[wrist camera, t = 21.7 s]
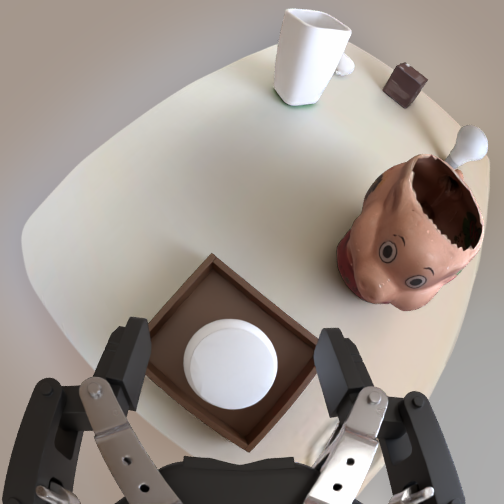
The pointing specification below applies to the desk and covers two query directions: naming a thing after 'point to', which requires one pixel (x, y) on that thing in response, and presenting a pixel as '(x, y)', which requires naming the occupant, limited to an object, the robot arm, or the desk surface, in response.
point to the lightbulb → (468, 146)
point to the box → (404, 84)
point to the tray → (229, 307)
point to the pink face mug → (411, 234)
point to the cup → (307, 54)
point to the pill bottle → (230, 363)
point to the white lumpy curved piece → (345, 65)
